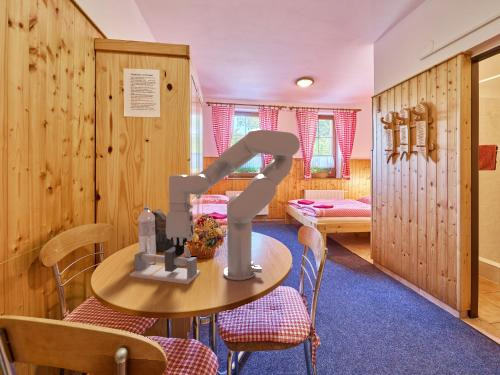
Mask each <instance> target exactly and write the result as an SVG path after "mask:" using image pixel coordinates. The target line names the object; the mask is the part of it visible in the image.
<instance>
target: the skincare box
mask: <svg viewBox="0 0 500 375" xmlns="http://www.w3.org/2000/svg"><path fill="white" fill-rule="evenodd" d="M184 254H185V255H184V256H185V257H184V258H191V254H190V251H189V249H188V248H186V247H185V246H184Z"/></svg>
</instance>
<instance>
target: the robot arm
mask: <svg viewBox="0 0 500 375" xmlns="http://www.w3.org/2000/svg"><path fill="white" fill-rule="evenodd" d="M300 146H301V142H300V139H299V137H298V136H297V135H296V134H294V133H292V132H288V131H282V130H281V131H280V130H279V131H278V130H272V129H271V130H269V129H264V128H263V129H260V128H257V129H256V128H255V129H254V128H253V129H252V130H250V131H248V132H247V134H245V135H244V136H243V137H242V138H240V139H239V140H237V141H236V142H234V144H233V145H231V146H230V147H228V148H227V149H226V150H225V151H223V152H222V153H221V154H220V155H219V156H218V157H217V158H216V160H214V161H213V162H212V163H211V164H209V165H208V166H207V167H206V168H204V169H203V170H202V171H201V172H199V173H197V174H193V175H187V174H172V175H170V176H169V177H168V210H167V213H166V216H167V218H166V235H167V239H170V240H172V241H173V242H174V245H175V252H176V255H177V256H180V257H181V256H182V255H184V254H185V243H186V242H187V241H191V240H193V235H194V230H195V220H194V215H193V210H192V209H193V208H194V205H193V204H191V201H190V200H191V199H190V197H191V195H197V196H201V195H205V194H206V193H207V192H208V191H209V190H210V189H211V188H212V187H214V186H215V185H216V184H217V183H219V182H220V181H222V180H223V179H224V178H226V177H227V176H229V175H231V174H233V173H235V172H236V171H238V170H239V169H241V168H242V167H243V166H244V165H246V164H247V163H248V162H250V161H251V160H252V159H254V157H256V156H258V154H259V155H260V154H261V155H262V154H263V155H271V156H272V158H271V160H270V162H269V163H268V164H267V165H265V167H264V168H263V169H262V170H261V171H260V172H258V174H256V175H255V176H254V177H252V178H251V179H250V181H249V182H248V185H247V186H246V188H245V189H244V190H243V191H242V192H240V193H239V194H234V195H233V196H231V197H229V200H228V201H227V205H226V221H227V222H226V227H227V228H226V230H227V232H226V233H227V237H226V238H227V240H226V241H227V245H226V246H227V250H226V252H227V256H226V257H227V267H225V268H224V270H223V276H224V277H225V278H226V279H229V280H230V281H231V280H232V281H247V280H249V278H250V279H252V278H254V277H255V275H256V273H257V274H262V272H263V268H262V267H261V265H255V264H254V261H253V260H252V246H253V244H252V238H253V237H252V235H253V234H252V232H253V231H252V228H253V227H252V220H253V219H254V218H256V216H257V215H259V213H260V212H261V211H263V209H265V208H266V207H267V206H268V205H269V203H271V202H272V201H273V199H274V198H275V196H276V193H277V187H278V186H279V185H280V184H281V183H282V182H283V180H284V179H285V178H286V177H287V176H289V173H290V172H291V169H292V167H293V162H294V156H295V155H296V154H297V153H298V152H299V150H300ZM253 276H254V277H253ZM251 277H252V278H251ZM246 279H247V280H246Z"/></svg>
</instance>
